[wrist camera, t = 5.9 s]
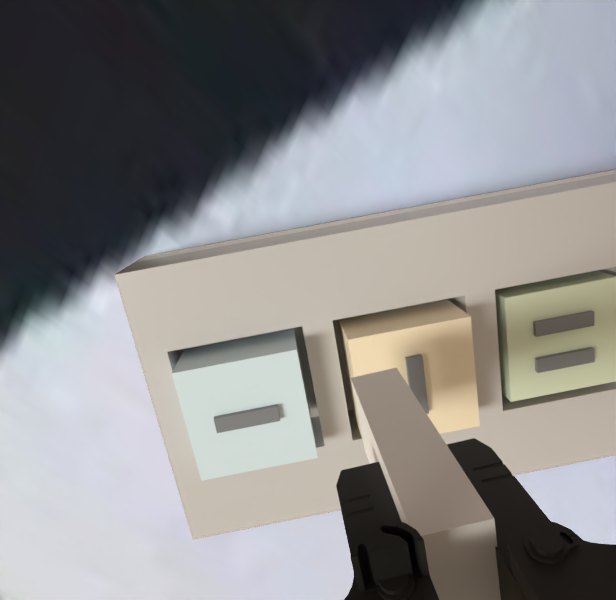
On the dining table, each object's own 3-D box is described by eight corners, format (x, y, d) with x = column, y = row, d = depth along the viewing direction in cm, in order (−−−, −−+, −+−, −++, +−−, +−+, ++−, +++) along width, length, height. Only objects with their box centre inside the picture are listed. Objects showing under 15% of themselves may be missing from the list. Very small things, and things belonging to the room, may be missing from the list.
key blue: (209, 445, 20) (200, 483, 18) (184, 349, 19) (170, 375, 16) (312, 425, 20) (318, 461, 18) (293, 328, 19) (297, 351, 16)
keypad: (205, 481, 24) (192, 539, 20) (144, 256, 21) (114, 274, 17) (705, 382, 24) (785, 421, 21) (720, 150, 21) (819, 144, 17)
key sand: (355, 417, 20) (366, 451, 18) (339, 320, 19) (348, 341, 16) (456, 397, 20) (482, 428, 18) (446, 299, 19) (473, 317, 17)
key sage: (485, 377, 22) (513, 404, 19) (478, 284, 20) (507, 299, 18) (580, 359, 22) (620, 383, 19) (578, 265, 20) (621, 277, 18)
